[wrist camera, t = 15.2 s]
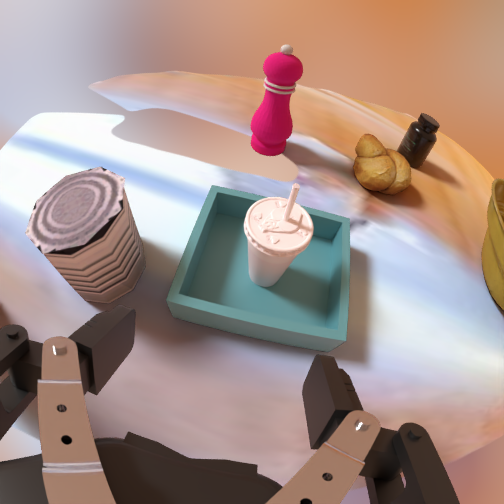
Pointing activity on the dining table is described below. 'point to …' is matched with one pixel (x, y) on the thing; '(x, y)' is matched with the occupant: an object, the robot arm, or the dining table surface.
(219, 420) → the dining table surface
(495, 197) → the planter bowl
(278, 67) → the pepper mill
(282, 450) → the dining table surface
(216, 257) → the tote
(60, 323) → the dining table surface
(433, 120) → the supplement bottle
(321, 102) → the dining table surface
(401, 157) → the bread roll
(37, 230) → the can
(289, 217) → the smoothie
